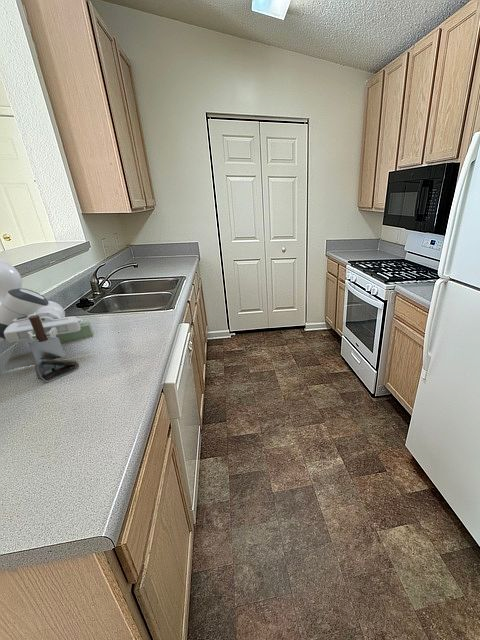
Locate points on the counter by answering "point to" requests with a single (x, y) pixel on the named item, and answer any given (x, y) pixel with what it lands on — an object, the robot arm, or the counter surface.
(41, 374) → the dark grey triangular holder
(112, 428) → the counter surface
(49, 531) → the counter surface
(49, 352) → the cake cutter
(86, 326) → the stand
